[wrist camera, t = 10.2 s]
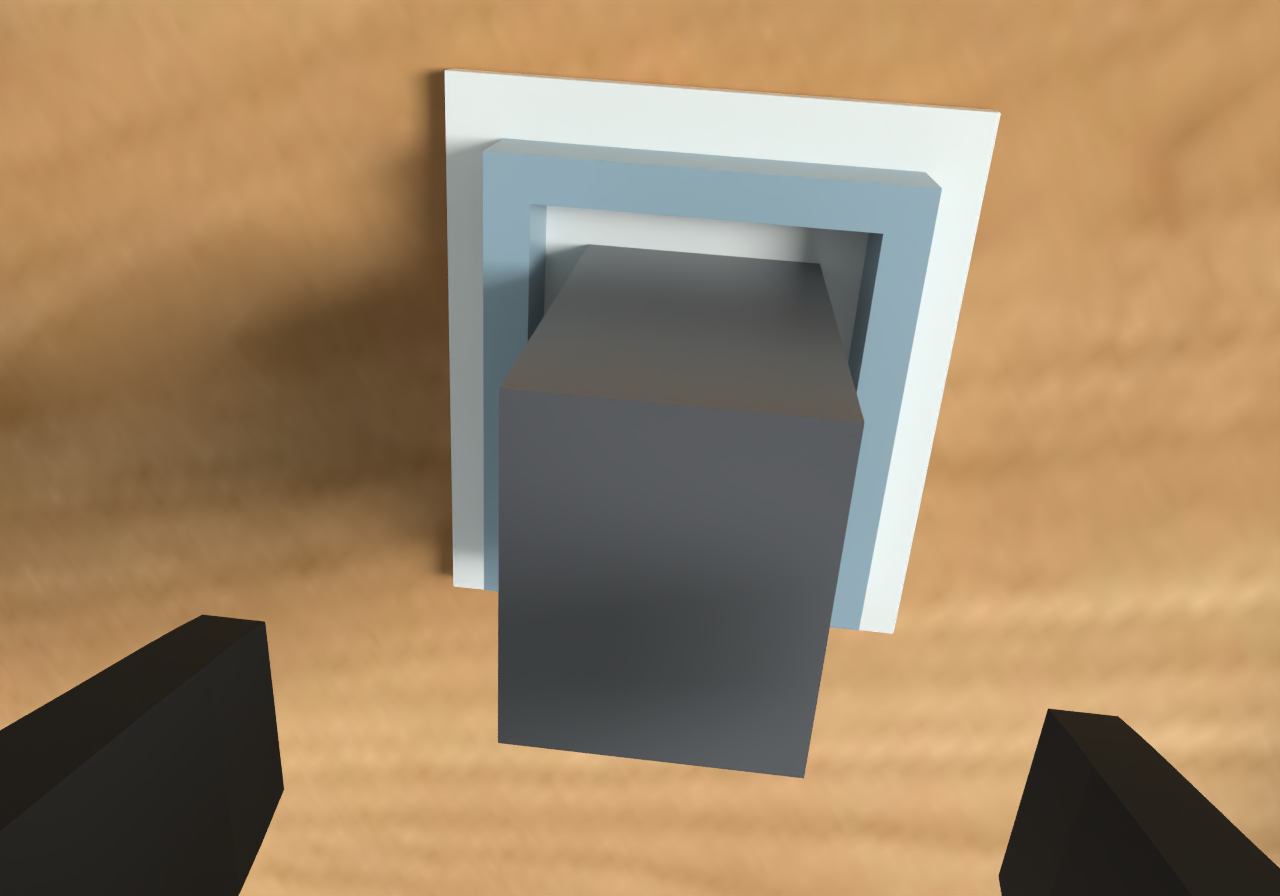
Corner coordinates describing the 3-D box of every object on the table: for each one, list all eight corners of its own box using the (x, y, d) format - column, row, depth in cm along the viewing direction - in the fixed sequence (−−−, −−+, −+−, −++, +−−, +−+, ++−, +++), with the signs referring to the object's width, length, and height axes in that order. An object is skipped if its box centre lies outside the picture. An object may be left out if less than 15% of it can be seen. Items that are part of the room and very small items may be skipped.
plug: (578, 498, 19) (498, 742, 13) (588, 244, 17) (499, 388, 11) (784, 519, 19) (803, 778, 13) (820, 263, 17) (864, 422, 11)
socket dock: (459, 573, 21) (432, 628, 19) (452, 68, 17) (417, 77, 15) (890, 619, 20) (903, 680, 19) (993, 109, 16) (1025, 123, 14)
